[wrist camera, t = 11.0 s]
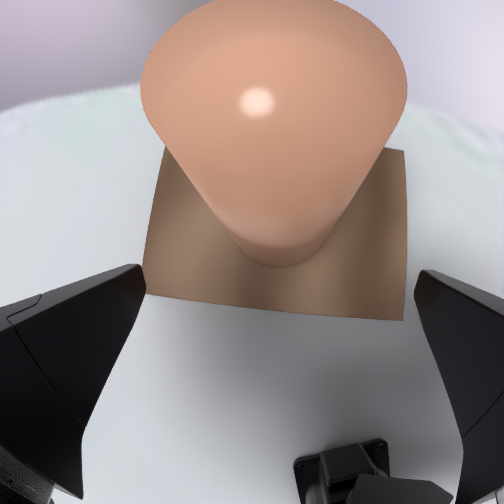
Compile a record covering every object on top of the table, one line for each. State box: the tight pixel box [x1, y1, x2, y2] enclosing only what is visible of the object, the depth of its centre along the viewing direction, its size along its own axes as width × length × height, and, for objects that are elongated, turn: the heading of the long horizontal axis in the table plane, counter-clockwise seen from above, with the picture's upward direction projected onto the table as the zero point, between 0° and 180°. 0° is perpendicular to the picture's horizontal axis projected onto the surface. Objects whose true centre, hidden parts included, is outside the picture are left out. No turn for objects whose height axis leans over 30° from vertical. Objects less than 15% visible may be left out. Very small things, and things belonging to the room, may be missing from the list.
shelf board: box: [142, 145, 407, 321], centre depth 20 cm, size 16×11×2 cm
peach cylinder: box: [140, 0, 407, 268], centre depth 12 cm, size 6×6×13 cm
